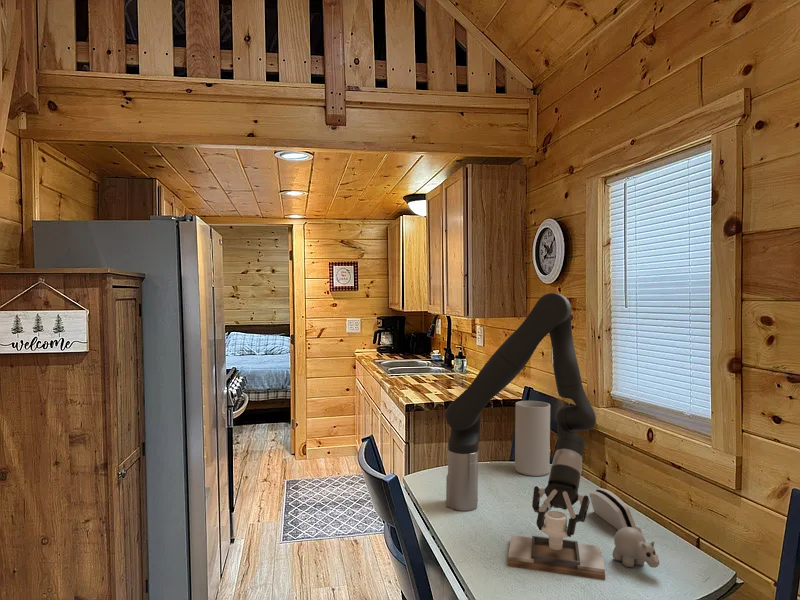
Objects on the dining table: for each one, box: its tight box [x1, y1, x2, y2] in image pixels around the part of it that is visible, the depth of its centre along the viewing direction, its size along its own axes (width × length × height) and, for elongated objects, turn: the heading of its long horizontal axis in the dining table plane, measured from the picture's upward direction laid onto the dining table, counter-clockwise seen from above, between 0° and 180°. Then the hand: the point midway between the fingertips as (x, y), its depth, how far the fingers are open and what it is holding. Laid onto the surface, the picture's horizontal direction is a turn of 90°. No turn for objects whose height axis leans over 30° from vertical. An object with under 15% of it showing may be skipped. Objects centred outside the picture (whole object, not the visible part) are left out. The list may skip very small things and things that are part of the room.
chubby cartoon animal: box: [612, 527, 660, 569], centre depth 129 cm, size 7×12×8 cm, turn 20°
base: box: [507, 534, 606, 580], centre depth 133 cm, size 22×14×2 cm, turn 75°
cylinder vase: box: [514, 400, 551, 477], centre depth 199 cm, size 12×12×25 cm
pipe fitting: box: [540, 510, 568, 550], centre depth 133 cm, size 6×7×8 cm
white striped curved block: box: [589, 487, 643, 534], centre depth 154 cm, size 17×5×10 cm, turn 10°
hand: (554, 532), depth 132 cm, fingers closed on pipe fitting, 6 cm apart
